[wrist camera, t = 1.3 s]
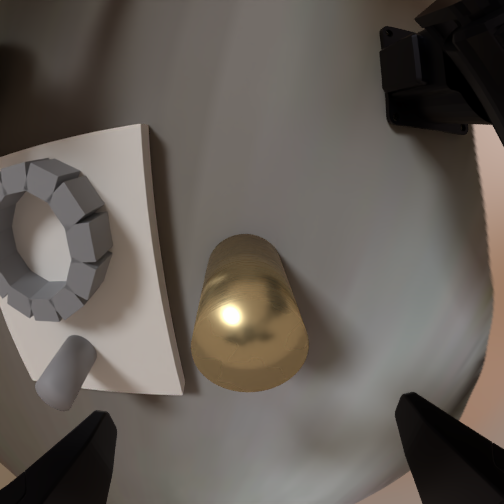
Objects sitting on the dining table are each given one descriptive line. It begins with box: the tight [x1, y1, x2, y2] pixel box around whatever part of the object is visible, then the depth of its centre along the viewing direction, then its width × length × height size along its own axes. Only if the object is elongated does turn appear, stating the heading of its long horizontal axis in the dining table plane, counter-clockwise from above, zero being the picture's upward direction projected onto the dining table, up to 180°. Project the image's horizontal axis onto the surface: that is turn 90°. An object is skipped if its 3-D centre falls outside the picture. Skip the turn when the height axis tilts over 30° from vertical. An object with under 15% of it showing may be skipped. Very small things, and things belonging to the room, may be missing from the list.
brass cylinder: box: [191, 234, 309, 392], centre depth 15 cm, size 4×4×8 cm
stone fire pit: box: [0, 124, 185, 411], centre depth 16 cm, size 14×18×6 cm
